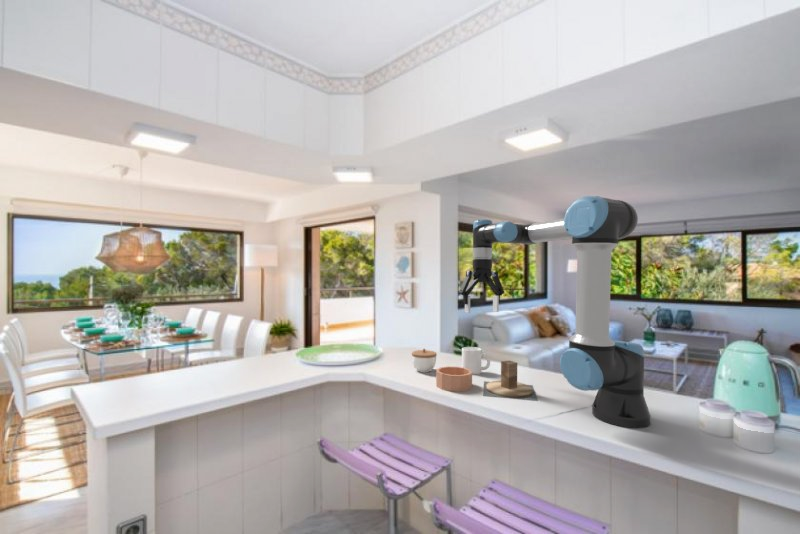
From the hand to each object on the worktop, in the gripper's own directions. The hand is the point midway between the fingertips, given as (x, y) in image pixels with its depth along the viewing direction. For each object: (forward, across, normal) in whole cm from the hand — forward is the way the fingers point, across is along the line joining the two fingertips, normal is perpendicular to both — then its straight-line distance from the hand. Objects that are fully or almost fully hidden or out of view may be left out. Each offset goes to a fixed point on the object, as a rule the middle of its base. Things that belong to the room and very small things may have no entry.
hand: (481, 312), depth 150 cm
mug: (+27, -5, -10) cm, 30 cm away
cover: (+27, -1, +15) cm, 31 cm away
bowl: (+27, +14, +3) cm, 31 cm away
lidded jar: (+27, +14, -22) cm, 38 cm away
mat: (+27, -1, +15) cm, 31 cm away
